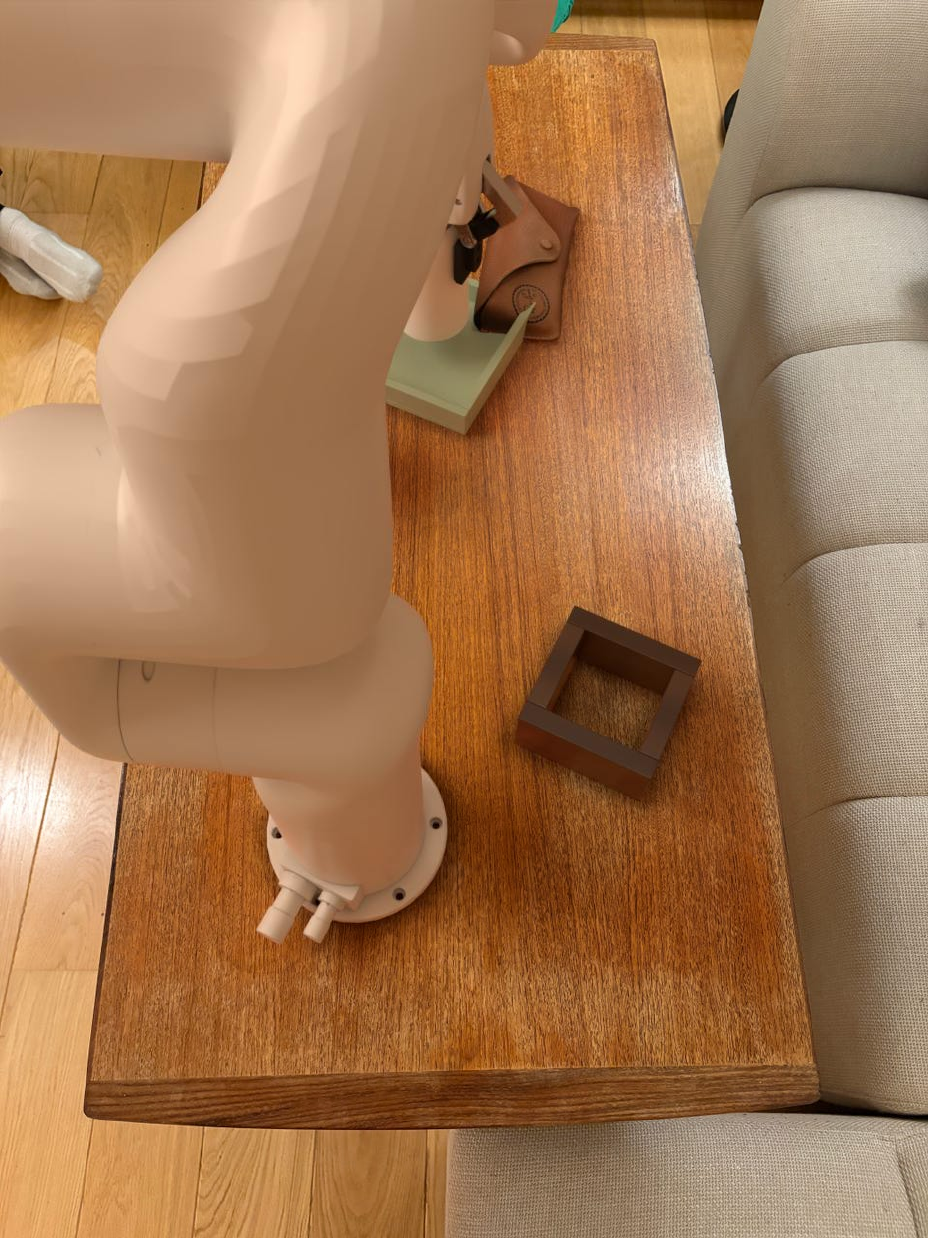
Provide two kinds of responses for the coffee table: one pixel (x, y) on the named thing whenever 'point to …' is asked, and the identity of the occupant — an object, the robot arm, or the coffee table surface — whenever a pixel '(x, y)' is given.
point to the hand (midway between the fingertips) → (426, 256)
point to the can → (440, 298)
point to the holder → (625, 659)
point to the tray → (452, 371)
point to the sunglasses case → (526, 267)
